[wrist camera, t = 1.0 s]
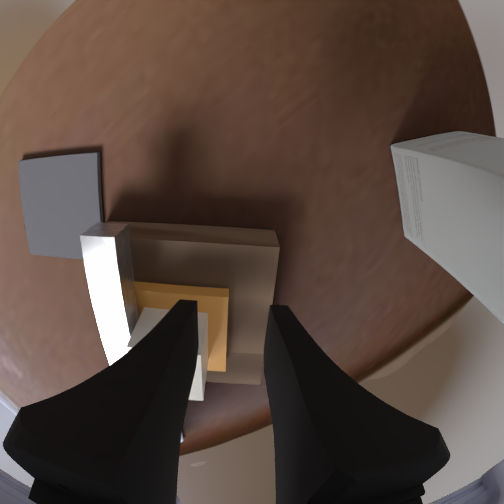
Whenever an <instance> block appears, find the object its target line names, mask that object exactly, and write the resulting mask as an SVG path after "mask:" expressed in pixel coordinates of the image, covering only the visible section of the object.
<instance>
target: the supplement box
mask: <svg viewBox="0 0 504 504" xmlns="http://www.w3.org/2000/svg"><path fill="white" fill-rule="evenodd" d="M391 152H392V157H393V163H394V168H395V173H396V180H397V186H398V192H399V199H400V206H401V214H402V223H403V230H404V236H405V237H406V238H407V239H408V240H410V241H411V242H412V243H414V244H415V245H416V246H417V247H418V248H420V249H421V250H422V251H423V252H425V253H426V254H427V255H428V256H430V257H431V258H432V259H433V260H435V261H436V262H437V263H438V264H439V265H441V266H442V267H443V268H444V269H445V270H446V271H448V272H449V273H450V274H451V275H452V276H453V277H454V278H456V279H457V280H458V281H459V282H460V283H461V284H462V285H463V286H464V287H465V288H467V289H468V290H469V291H470V292H471V293H472V294H473V295H474V296H475V297H476V298H478V299H479V301H481V302H482V303H483V304H484V305H485V306H486V307H487V308H488V309H489V310H490V311H491V312H492V313H493V314H494V315H495V316H496V317H497V318H498V319H499V320H500V321H501V322H502V323H503V324H504V139H503V138H497V137H492V136H487V135H481V134H476V133H470V132H463V131H455V132H448V133H443V134H437V135H432V136H427V137H423V138H418V139H413V140H409V141H404V142H400V143H395V144H391Z"/></svg>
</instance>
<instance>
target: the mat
mask: <svg viewBox="0 0 504 504" xmlns="http://www.w3.org/2000/svg"><path fill="white" fill-rule="evenodd" d="M18 166H19V181H20V192H21V201H22V209H23V216H24V223H25V229H26V235H27V240H28V245H29V250H30V254H33V255H43V256H53V257H63V258H74V259H83V253H82V247H81V240H80V235H81V234H83V233H84V232H85V231H86V230H88V229H89V228H90V227H92V226H93V225H94V224H96V223H97V222H99V223H104V221H103V209H102V193H101V166H100V152H93V153H80V154H69V155H59V156H50V157H41V158H34V159H27V160H21V161H18Z"/></svg>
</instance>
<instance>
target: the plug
mask: <svg viewBox="0 0 504 504" xmlns="http://www.w3.org/2000/svg"><path fill="white" fill-rule="evenodd" d="M134 282H135V290H136V297H137V304H138V310H139V320H138V322H137V324H136V326H135V328H134V330H133V332H132V335H131V337H130V339H129V341H128V343H127V346H126V348H127V352H128V351H129V350H130V349H131V348H132V347H134V346H135V345H136V344H137V343H138V342H139V341H140V340H141V339H142V338H143V337H145V336H146V335H147V334H148V333H149V332H150V331H151V330H152V329H153V328H154V327H155V325H156V324H157V323H158V322H159V321H160V320H161V319H162V318H163V317H164V316H165V315H166V314H167V313H168V312H169V310H170V309H171V308H172V307H173V306H174V305H175V304H176V302H177V301H179V300H180V299H184V300H196V301H197V305H198V337H199V347H198V356H197V364H196V370H195V375H194V379H193V383H192V387H191V391H190V395H189V399H188V400H197V401H203V400H204V391H205V383H206V374H207V370H208V371H222V372H226V350H227V325H228V302H229V289H228V288H212V287H198V286H184V285H172V284H160V283H148V282H137V281H134Z"/></svg>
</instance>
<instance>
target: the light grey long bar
mask: <svg viewBox="0 0 504 504" xmlns="http://www.w3.org/2000/svg"><path fill="white" fill-rule="evenodd" d="M80 240H81V247H82V253H83V259H84V265H85V270H86V276H87V281H88V286H89V290H90V295H91V299H92V304H93V308H94V312H95V316H96V320H97V324H98V327H99V331H100V335H101V338H102V342H103V345H104V348H105V352H106V355H107V358H108V361H109V364H110V365H111V364H112V363H114V362H115V361H116V360H118V359H119V358H120V357H122V356H123V355H124V354H125V353H127V348H126V346H127V343H128V341H129V339H130V337H131V335H132V332H133V330H134V328H135V326H136V324H137V322H138V320H139V310H138V304H137V297H136V290H135V282H134V274H133V265H132V256H131V245H130V233H129V224H125V223H99V222H97V223H96V224H94V225H93V226H92V227H90V228H89V229H88V230H86V231H85V232H84V233H83V234H81V235H80Z"/></svg>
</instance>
